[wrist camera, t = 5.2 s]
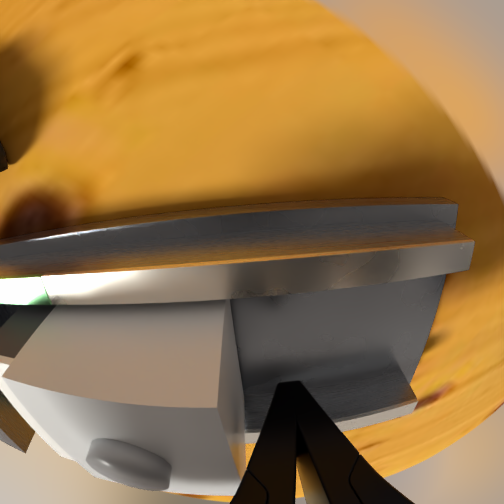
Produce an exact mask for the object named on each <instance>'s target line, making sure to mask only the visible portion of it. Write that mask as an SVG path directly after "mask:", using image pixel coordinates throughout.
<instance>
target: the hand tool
mask: <svg viewBox="0 0 504 504" xmlns="http://www.w3.org/2000/svg"><path fill="white" fill-rule="evenodd" d="M6 169H8V163H7V159H6V153H5V151H4V149H3V146H2V144H1V142H0V172H2V171H4V170H6Z"/></svg>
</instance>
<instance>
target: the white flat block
mask: <svg viewBox="0 0 504 504" xmlns="http://www.w3.org/2000/svg"><path fill="white" fill-rule="evenodd" d="M55 307H56V304H52V305H24V304H22V305H21V306H20V307H19V309H18V310H17V311H16V312H15V313H14V314H13V315H12V316H11V317H10V318H9V319H8V320H7V321H6V323H5V324H4V325H3V326H2V327H1V328H0V390H1V391H2V392H3V394H4V395H5V396H6V398H7V399H8V400H9V401H10V403H11V404H12V405H13V406H14V408H15V409H16V410H17V411H18V412H19V414H20V415H21V416H22V417H23V418H24V419H25V421H26V422H27V423H28V424H29V425H30V426H31V427H32V428H33V429H34V430H35V432H36V433H37V434H38V435H40V437H41V438H42V439H43V440H44V441H45V442H46V443H47V444H48V445H49V446H50V447H51V448H52V449H53V450H54V451H56V452H57V453H58V454H59V455H60V456H62V457H64V458H67V459H70V460H73V461H75V460H74V459H73V458H72V457H71V456H70V455H69V454H67V453H66V452H65V451H64V450H63V449H62V448H61V447H60V446H59V445H58V444H57V443H56V442H55V441H54V440H53V439H52V438H51V437H50V436H49V435H48V434H47V433H46V431H45V430H44V429H43V428H42V427H41V426H40V425H39V424H38V423H37V422H36V420H35V419H34V418H33V417H32V416H31V415H30V413H29V412H28V411H27V410H26V409H25V407H24V406H23V405H22V404H21V402H20V401H19V400H18V399H17V397H16V396H15V395H14V393H13V392H12V391H11V389H10V388H9V387H8V385H7V384H6V382H5V381H4V380H3V378H2V375H3V374H4V372H5V371H6V369H7V368H8V367H9V365H10V364H11V362H12V361H13V360H14V358H15V357H16V355H17V354H18V353H19V351H20V350H21V349H22V347H23V346H24V345H25V343H26V342H27V341H28V340H29V338H30V337H31V336H32V334H33V333H34V332H35V331H36V329H37V328H38V327H39V326H40V324H41V323H42V322H43V321H44V320H45V318H46V317H47V316H48V315H49V314H50V312H51V311H52V310H53V309H54V308H55Z"/></svg>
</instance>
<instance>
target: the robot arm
mask: <svg viewBox="0 0 504 504" xmlns="http://www.w3.org/2000/svg"><path fill="white" fill-rule="evenodd" d="M296 464H297V468H298V472H299V476H300V480H301V484H302V488H303V492H304V496H305V500H306V503H307V504H415V503H413V502H412V501H411V500H409V499H408V498H407V497H405V496H404V495H403V494H402V493H400V492H399V491H398V490H397V489H396V488H394V487H393V486H392V485H391V484H389V483H388V482H387V481H386V480H385V479H384V478H383V477H382V476H380V475H379V474H378V473H377V472H376V471H375V470H374V469H373V467H372V466H371V465H370V464H369V463H368V462H367V461H366V460H365V459H364V457H363V456H362V455H359V452H358V451H357V449H356V448H355V447H354V446H353V445H352V444H351V442H350V441H349V440H348V439H347V438H346V436H345V435H344V434H343V433H342V432H341V430H340V429H339V428H338V427H337V426H336V424H335V423H334V422H333V421H332V419H331V418H330V417H329V416H328V415H327V413H326V412H325V411H324V410H323V408H322V407H321V406H320V405H319V403H318V402H317V401H316V400H315V398H314V397H313V396H312V395H311V393H310V392H309V391H308V390H307V388H306V387H305V386H304V385H303V383H302V382H301V381H300V380H294V381H285V382H278V383H277V385H276V388H275V391H274V394H273V397H272V400H271V403H270V406H269V409H268V412H267V415H266V418H265V420H264V423H263V426H262V429H261V431H260V434H259V437H258V440H257V442H256V445H255V448H254V450H253V453H252V456H251V458H250V461H249V463H248V466H247V468H246V469H247V470H246V471H245V473H244V475H243V478H242V480H241V482H240V485H239V487H238V489H237V491H236V493H235V495H234V497H233V499H232V500H231V502H230V504H295V492H296Z"/></svg>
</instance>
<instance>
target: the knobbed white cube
mask: <svg viewBox="0 0 504 504" xmlns="http://www.w3.org/2000/svg"><path fill="white" fill-rule="evenodd" d="M2 378H3V380H4V381H5V382H6V384H7V385H8V387H9V388H10V389H11V391H12V392H13V393H14V395H15V396H16V397H17V399H18V400H19V401H20V402H21V404H22V405H23V406H24V407H25V409H26V410H27V411H28V412H29V413H30V415H31V416H32V417H33V418H34V419H35V420H36V422H37V423H38V424H39V425H40V426H41V427H42V428H43V429H44V430H45V431H46V433H47V434H48V435H49V436H50V437H51V438H52V439H53V440H54V441H55V442H56V443H57V444H58V445H59V446H60V447H61V448H62V449H63V450H64V451H65V452H66V453H67V454H69V455H70V456H71V457H72V458H73V459H74V460H75V461H76V462H77V463H78V464H80V465H81V466H82V467H83V468H84V469H86V470H87V471H88V472H89V473H90V474H91V475H93V476H94V477H97V478H101V479H104V480H108V481H112V482H117V483H121V484H124V485H127V486H130V487H134V488H138V489H143V490H151V491H166V492H175V493H185V494H198V495H226V496H234V495H235V493H236V491H237V489H238V487H239V485H240V482H241V480H242V478H243V475H244V473H245V471H246V454H245V405H244V392H243V386H242V380H241V374H240V367H239V361H238V354H237V347H236V341H235V334H234V327H233V320H232V313H231V305H230V299H222V300H206V301H188V302H168V303H141V304H94V305H56V307H55V308H54V309H53V310H52V311H51V312H50V314H49V315H48V316H47V317H46V318H45V320H44V321H43V322H42V323H41V324H40V326H39V327H38V328H37V329H36V331H35V332H34V333H33V334H32V336H31V337H30V338H29V340H28V341H27V342H26V343H25V345H24V346H23V347H22V349H21V350H20V351H19V353H18V354H17V355H16V357H15V358H14V360H13V361H12V362H11V364H10V365H9V367H8V368H7V369H6V371H5V372H4V374H3V375H2Z"/></svg>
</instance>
